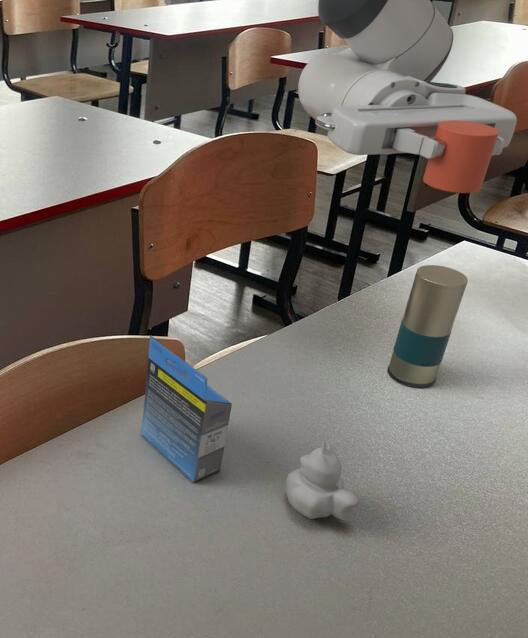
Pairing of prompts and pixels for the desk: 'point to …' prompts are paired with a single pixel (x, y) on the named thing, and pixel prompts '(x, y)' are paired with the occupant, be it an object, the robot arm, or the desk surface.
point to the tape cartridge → (183, 414)
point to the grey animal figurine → (320, 486)
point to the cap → (461, 156)
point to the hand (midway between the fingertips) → (468, 149)
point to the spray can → (426, 325)
